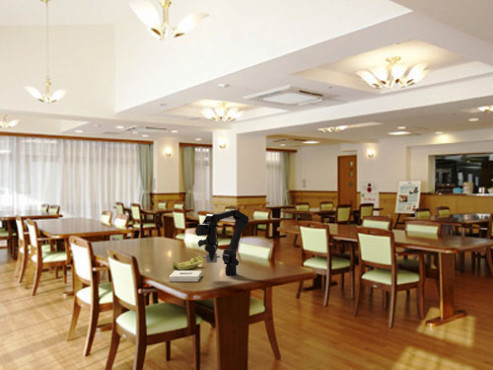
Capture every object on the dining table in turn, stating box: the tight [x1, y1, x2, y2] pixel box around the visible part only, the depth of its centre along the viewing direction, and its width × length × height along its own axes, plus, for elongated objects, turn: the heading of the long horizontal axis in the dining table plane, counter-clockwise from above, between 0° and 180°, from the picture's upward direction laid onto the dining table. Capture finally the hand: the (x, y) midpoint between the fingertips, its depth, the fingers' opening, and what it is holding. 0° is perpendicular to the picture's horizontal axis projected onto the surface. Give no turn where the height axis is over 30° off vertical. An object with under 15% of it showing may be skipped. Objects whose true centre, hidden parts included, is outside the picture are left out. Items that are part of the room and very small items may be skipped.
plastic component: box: [171, 255, 204, 271], centre depth 287 cm, size 20×7×10 cm
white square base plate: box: [168, 270, 203, 282], centre depth 253 cm, size 17×16×3 cm
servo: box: [202, 252, 221, 264], centre depth 253 cm, size 10×4×6 cm, turn 88°
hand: (211, 260), depth 253 cm, fingers closed on servo, 4 cm apart
